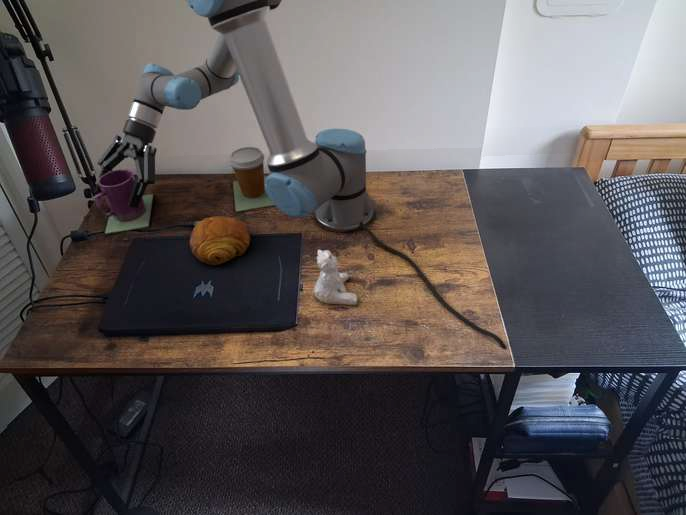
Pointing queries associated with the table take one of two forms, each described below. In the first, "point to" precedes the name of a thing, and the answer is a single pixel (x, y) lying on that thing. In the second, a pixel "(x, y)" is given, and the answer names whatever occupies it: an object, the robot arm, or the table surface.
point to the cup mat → (250, 199)
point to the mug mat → (138, 223)
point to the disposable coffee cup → (249, 170)
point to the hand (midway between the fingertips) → (115, 200)
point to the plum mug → (118, 196)
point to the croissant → (219, 239)
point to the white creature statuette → (332, 281)
